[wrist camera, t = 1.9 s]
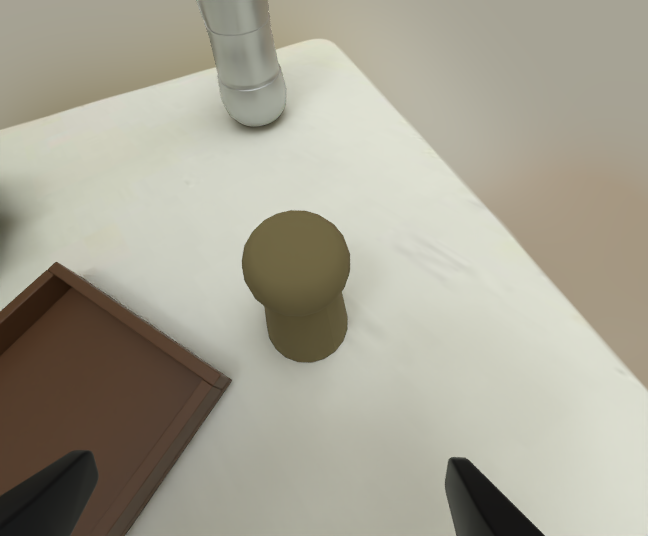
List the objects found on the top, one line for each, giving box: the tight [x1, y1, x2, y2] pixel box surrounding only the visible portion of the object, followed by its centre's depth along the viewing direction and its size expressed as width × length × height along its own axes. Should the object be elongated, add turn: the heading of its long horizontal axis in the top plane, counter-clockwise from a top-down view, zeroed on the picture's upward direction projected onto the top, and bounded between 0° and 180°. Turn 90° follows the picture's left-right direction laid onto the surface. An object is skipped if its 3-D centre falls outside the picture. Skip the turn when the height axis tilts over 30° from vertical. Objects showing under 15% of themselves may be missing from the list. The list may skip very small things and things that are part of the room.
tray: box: [0, 262, 232, 536], centre depth 19 cm, size 16×16×3 cm
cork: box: [242, 210, 350, 362], centre depth 19 cm, size 6×6×11 cm
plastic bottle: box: [196, 0, 286, 126], centre depth 25 cm, size 6×7×20 cm
